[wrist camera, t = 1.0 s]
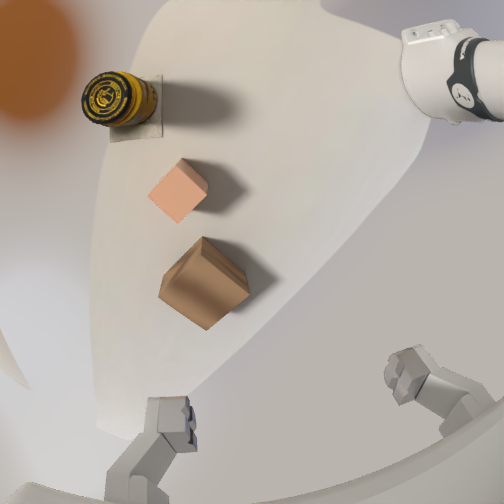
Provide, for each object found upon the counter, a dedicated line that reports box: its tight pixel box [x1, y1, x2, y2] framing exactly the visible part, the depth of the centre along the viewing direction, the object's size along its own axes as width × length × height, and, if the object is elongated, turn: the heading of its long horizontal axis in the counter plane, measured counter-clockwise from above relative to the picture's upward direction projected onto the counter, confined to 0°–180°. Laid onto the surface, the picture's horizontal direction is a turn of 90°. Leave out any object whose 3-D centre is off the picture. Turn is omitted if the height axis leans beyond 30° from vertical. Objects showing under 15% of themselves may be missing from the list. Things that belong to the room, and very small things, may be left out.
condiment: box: [81, 72, 162, 143], centre depth 26 cm, size 7×8×12 cm
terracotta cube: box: [147, 158, 208, 224], centre depth 34 cm, size 5×5×6 cm
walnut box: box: [158, 237, 250, 331], centre depth 41 cm, size 9×9×6 cm
